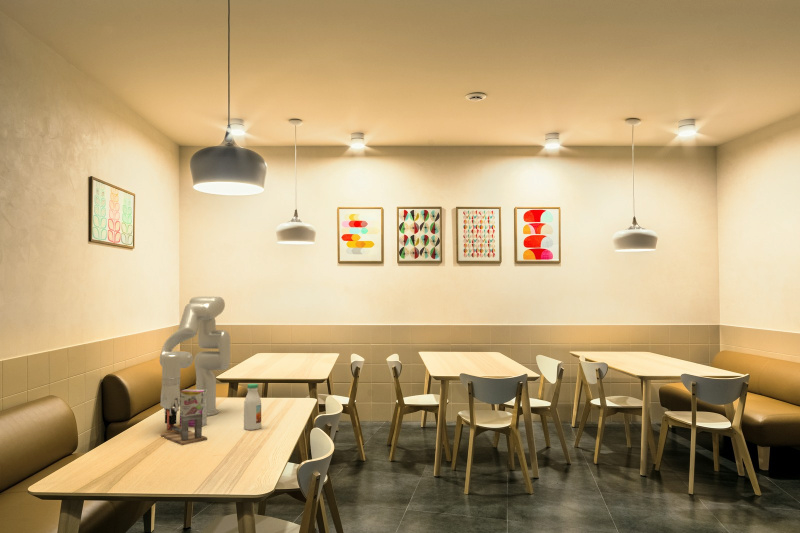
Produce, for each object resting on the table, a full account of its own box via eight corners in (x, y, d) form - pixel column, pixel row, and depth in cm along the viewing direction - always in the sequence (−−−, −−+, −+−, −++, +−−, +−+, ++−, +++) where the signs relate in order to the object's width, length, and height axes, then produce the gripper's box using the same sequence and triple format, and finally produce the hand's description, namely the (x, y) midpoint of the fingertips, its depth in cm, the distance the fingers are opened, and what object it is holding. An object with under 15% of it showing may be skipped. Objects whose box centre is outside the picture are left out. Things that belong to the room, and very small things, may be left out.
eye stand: (160, 436, 240) (161, 411, 240) (185, 431, 248) (185, 407, 248) (181, 445, 226) (182, 418, 227) (207, 439, 234) (207, 413, 235)
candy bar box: (179, 426, 257) (179, 390, 258) (184, 424, 262) (184, 389, 263) (202, 427, 256) (202, 391, 257) (207, 424, 261) (207, 389, 262)
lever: (165, 429, 246) (165, 409, 246) (172, 428, 248) (172, 408, 248) (183, 436, 234) (183, 415, 234) (190, 435, 236) (190, 413, 237)
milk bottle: (250, 431, 248) (251, 386, 249) (240, 428, 253) (240, 384, 253) (264, 427, 254) (265, 383, 255) (254, 425, 259) (254, 382, 260)
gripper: (154, 380, 250) (154, 422, 249) (171, 385, 239) (170, 428, 238) (171, 378, 255) (170, 419, 254) (187, 382, 244) (187, 425, 243)
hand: (170, 423), depth 246 cm, fingers closed on lever, 3 cm apart
